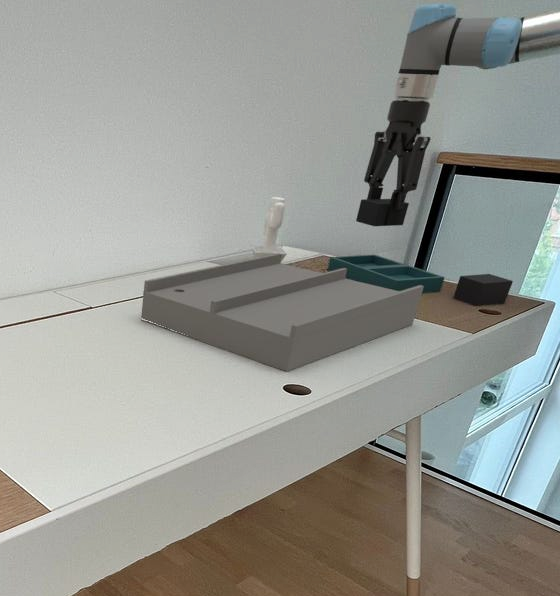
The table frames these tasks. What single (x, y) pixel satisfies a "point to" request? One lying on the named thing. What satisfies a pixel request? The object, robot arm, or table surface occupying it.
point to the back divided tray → (385, 273)
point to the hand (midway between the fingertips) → (379, 221)
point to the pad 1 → (378, 212)
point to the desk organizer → (277, 310)
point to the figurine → (271, 230)
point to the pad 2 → (482, 289)
